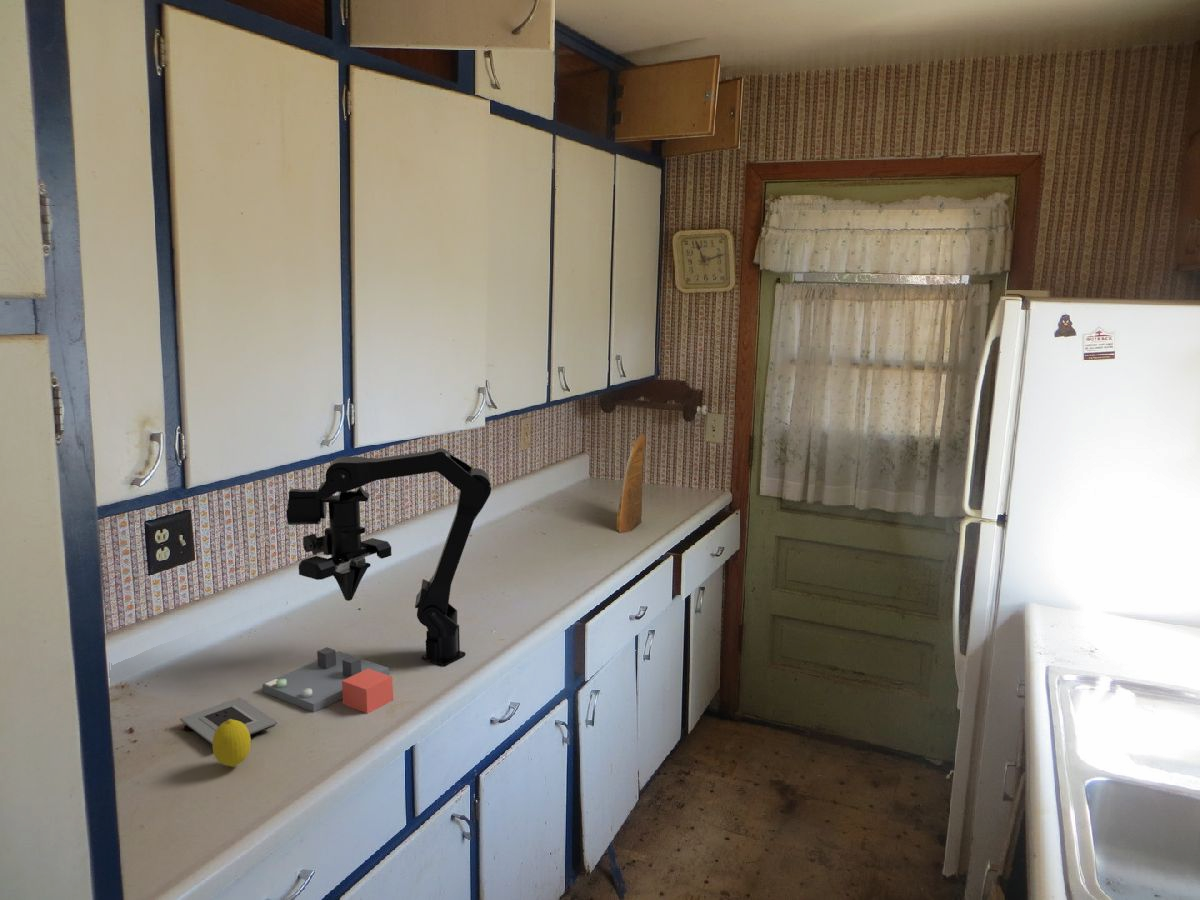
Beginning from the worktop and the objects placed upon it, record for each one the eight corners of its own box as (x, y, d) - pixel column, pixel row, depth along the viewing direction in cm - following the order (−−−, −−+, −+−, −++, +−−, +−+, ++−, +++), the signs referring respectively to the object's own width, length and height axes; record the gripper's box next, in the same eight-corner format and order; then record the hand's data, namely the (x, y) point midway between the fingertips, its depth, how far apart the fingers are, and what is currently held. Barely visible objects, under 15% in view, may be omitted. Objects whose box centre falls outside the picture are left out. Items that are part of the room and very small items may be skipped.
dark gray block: (327, 661, 177) (326, 647, 176) (336, 664, 176) (335, 650, 175) (317, 666, 175) (317, 651, 174) (326, 669, 174) (325, 654, 173)
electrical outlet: (278, 733, 154) (277, 720, 153) (217, 757, 146) (216, 743, 145) (240, 708, 162) (239, 695, 162) (181, 729, 154) (179, 716, 154)
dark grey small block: (352, 670, 173) (352, 655, 173) (361, 673, 172) (360, 658, 171) (342, 674, 171) (342, 659, 171) (351, 678, 170) (351, 663, 169)
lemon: (207, 774, 140) (203, 726, 139) (227, 756, 145) (223, 709, 144) (240, 778, 139) (236, 729, 138) (259, 759, 145) (256, 712, 143)
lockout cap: (369, 691, 168) (368, 668, 167) (393, 699, 165) (392, 676, 164) (343, 704, 163) (341, 680, 162) (367, 713, 160) (366, 689, 159)
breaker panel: (339, 658, 182) (338, 646, 182) (389, 675, 175) (388, 663, 174) (262, 691, 168) (262, 679, 167) (313, 712, 160) (313, 698, 160)
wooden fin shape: (650, 519, 287) (652, 432, 281) (632, 535, 269) (633, 442, 264) (630, 517, 289) (631, 430, 283) (610, 533, 271) (612, 440, 266)
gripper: (353, 506, 187) (356, 579, 190) (277, 527, 172) (282, 605, 175) (392, 515, 181) (394, 589, 184) (316, 537, 166) (321, 618, 169)
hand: (348, 600), depth 178 cm, fingers closed
